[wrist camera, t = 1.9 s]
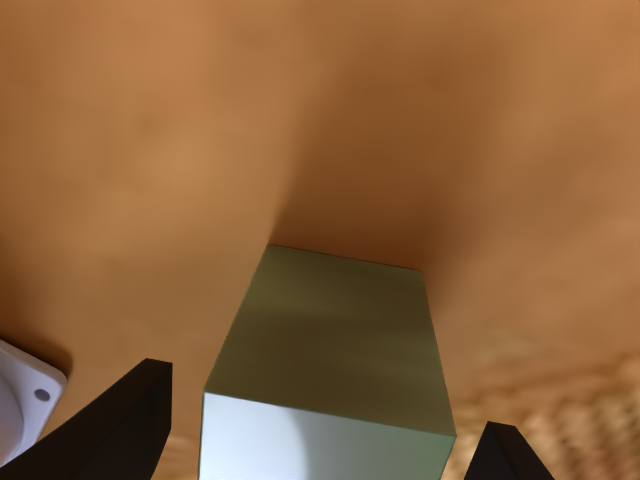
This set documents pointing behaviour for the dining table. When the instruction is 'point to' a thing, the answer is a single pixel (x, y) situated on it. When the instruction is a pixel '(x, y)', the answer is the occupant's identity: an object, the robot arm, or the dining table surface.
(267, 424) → the block
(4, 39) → the dining table surface
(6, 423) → the robot arm
